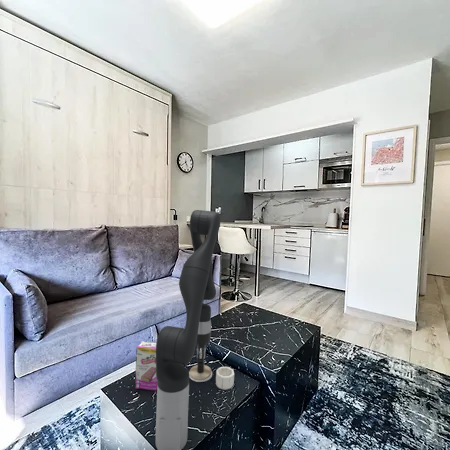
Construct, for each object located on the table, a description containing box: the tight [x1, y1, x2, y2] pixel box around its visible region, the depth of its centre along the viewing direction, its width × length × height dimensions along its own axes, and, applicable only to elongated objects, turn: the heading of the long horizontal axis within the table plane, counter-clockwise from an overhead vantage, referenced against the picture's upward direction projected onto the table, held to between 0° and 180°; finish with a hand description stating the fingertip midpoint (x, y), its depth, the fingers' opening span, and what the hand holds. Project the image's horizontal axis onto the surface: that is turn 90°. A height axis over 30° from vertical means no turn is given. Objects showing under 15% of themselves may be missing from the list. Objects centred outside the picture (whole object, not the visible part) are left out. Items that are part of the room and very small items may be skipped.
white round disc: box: [189, 370, 213, 383], centre depth 105 cm, size 10×10×1 cm
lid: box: [189, 360, 212, 379], centre depth 105 cm, size 9×9×5 cm
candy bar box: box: [134, 341, 158, 392], centre depth 96 cm, size 11×5×16 cm, turn 84°
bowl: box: [215, 366, 235, 390], centre depth 100 cm, size 7×7×5 cm
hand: (200, 369), depth 105 cm, fingers closed on lid, 3 cm apart
